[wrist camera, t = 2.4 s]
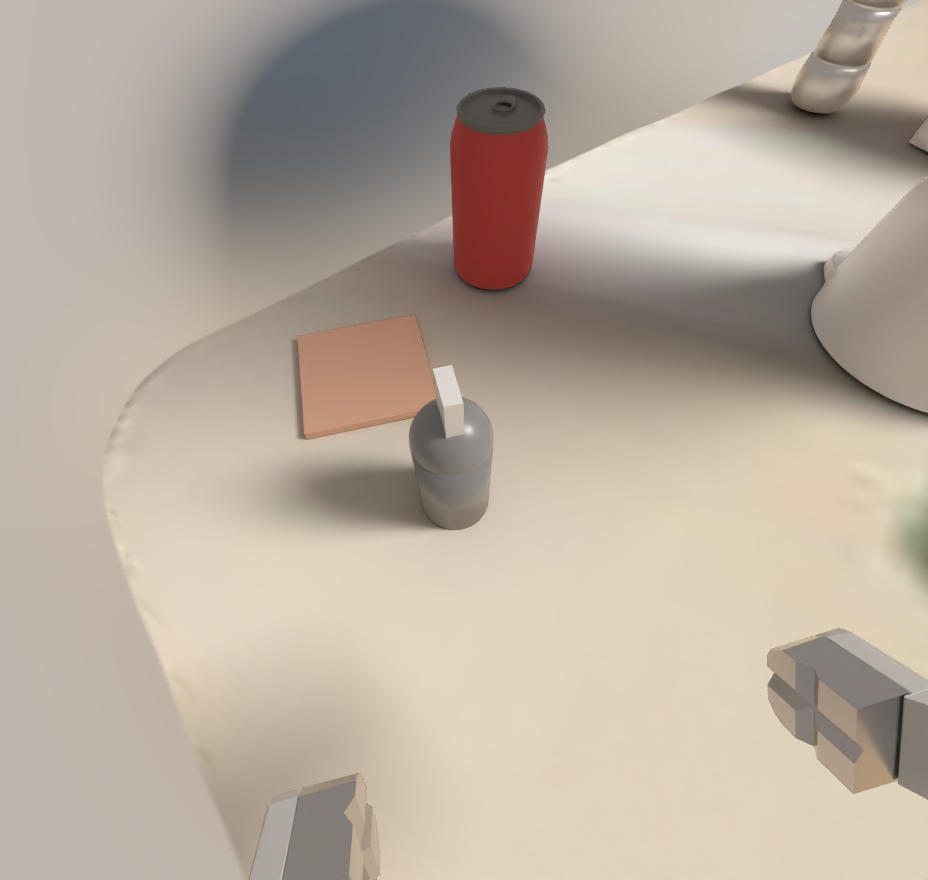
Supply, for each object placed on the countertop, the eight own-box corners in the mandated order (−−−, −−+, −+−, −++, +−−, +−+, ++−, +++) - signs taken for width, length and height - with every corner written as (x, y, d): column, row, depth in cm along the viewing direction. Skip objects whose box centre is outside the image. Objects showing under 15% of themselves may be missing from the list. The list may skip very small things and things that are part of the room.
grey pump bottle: (478, 463, 29) (482, 340, 19) (496, 520, 27) (510, 415, 17) (416, 476, 28) (390, 357, 19) (429, 536, 26) (407, 437, 17)
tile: (416, 320, 35) (415, 314, 35) (440, 411, 31) (440, 406, 30) (299, 341, 34) (297, 335, 34) (307, 439, 30) (304, 434, 29)
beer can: (541, 255, 39) (567, 93, 29) (514, 303, 36) (532, 141, 26) (472, 236, 41) (473, 76, 30) (441, 281, 38) (430, 119, 27)
